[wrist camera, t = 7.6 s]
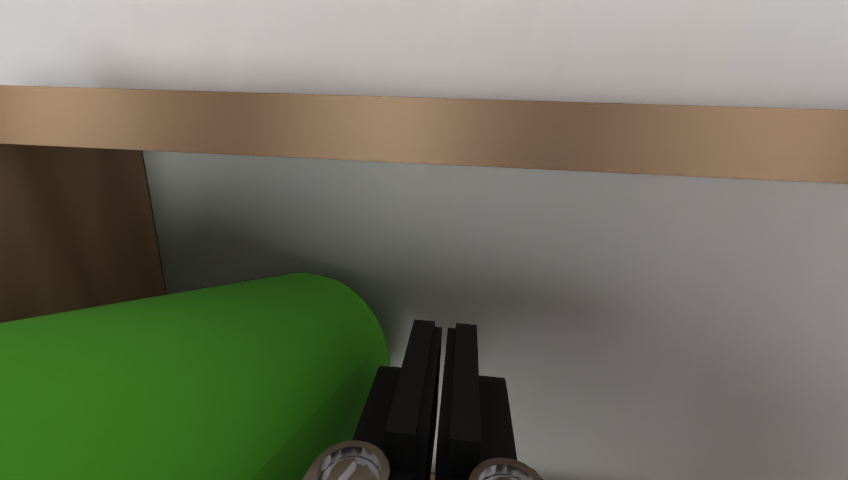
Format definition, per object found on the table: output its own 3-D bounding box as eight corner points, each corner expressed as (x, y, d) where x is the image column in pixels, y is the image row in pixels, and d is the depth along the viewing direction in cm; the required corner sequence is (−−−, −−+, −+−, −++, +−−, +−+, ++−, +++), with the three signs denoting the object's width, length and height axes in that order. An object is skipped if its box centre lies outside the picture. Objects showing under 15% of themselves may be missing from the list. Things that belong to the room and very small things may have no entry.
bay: (1031, 125, 9) (1693, 126, 4) (831, 553, 14) (1048, 812, 8) (17, 93, 12) (-304, 71, 7) (108, 452, 17) (-56, 600, 11)
